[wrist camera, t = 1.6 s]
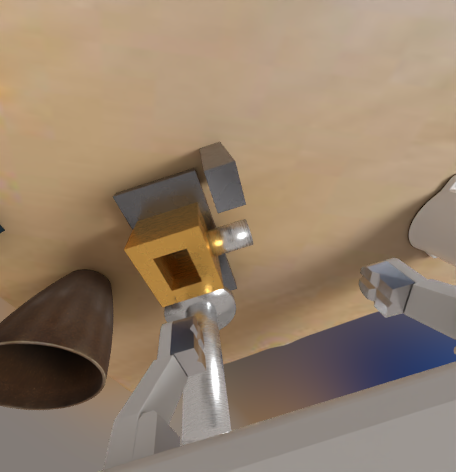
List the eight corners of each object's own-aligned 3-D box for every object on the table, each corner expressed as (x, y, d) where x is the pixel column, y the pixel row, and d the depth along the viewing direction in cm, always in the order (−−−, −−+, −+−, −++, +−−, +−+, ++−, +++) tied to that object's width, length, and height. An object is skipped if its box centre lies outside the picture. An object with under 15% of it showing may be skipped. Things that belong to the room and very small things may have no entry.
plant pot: (149, 295, 42) (130, 384, 29) (85, 323, 44) (37, 421, 30) (95, 237, 35) (33, 323, 21) (18, 274, 36) (-86, 376, 22)
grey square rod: (220, 141, 30) (235, 161, 20) (228, 173, 32) (245, 204, 22) (199, 148, 30) (203, 171, 20) (209, 179, 33) (217, 213, 22)
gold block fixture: (226, 157, 31) (292, 256, 11) (258, 277, 44) (316, 425, 24) (115, 193, 32) (-21, 353, 11) (180, 302, 45) (171, 468, 24)
